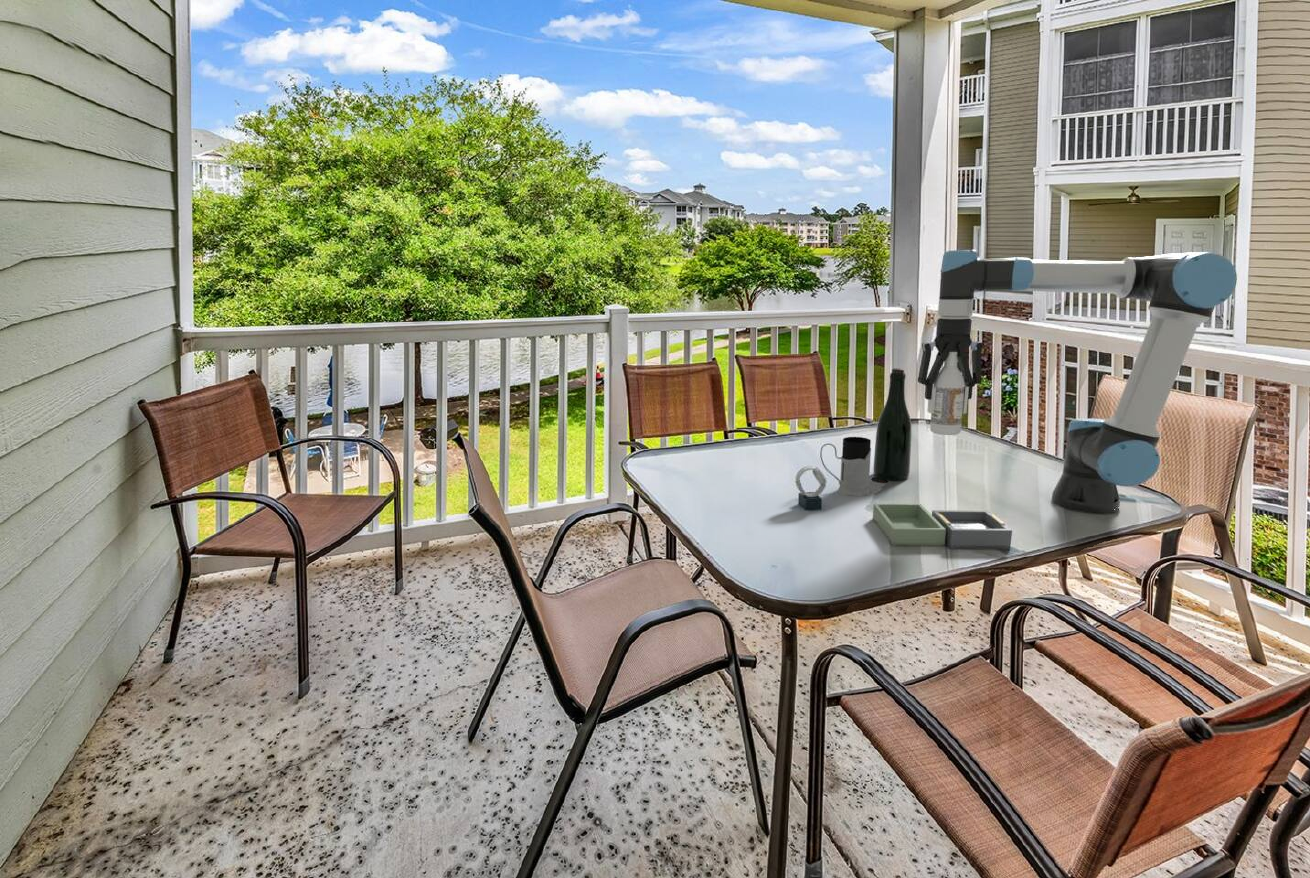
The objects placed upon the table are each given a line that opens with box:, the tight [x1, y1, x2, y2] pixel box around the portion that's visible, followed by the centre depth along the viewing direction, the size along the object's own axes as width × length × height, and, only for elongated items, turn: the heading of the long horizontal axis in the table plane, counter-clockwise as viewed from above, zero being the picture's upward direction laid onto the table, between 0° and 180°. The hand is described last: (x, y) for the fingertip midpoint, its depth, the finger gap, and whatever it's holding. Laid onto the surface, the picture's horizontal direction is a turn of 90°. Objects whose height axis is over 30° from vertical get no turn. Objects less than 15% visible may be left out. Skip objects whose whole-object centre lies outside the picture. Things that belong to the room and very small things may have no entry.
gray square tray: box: [931, 509, 1013, 550], centre depth 157 cm, size 13×13×5 cm
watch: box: [794, 465, 828, 512], centre depth 180 cm, size 6×8×11 cm
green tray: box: [872, 503, 946, 547], centre depth 162 cm, size 12×18×4 cm, turn 177°
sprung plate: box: [949, 521, 992, 529], centre depth 157 cm, size 10×10×1 cm
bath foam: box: [929, 352, 965, 436], centre depth 165 cm, size 7×7×20 cm
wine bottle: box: [872, 367, 913, 481], centre depth 203 cm, size 10×10×33 cm
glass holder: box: [819, 436, 872, 497], centre depth 192 cm, size 9×14×15 cm, turn 80°
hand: (946, 412), depth 166 cm, fingers closed on bath foam, 7 cm apart
